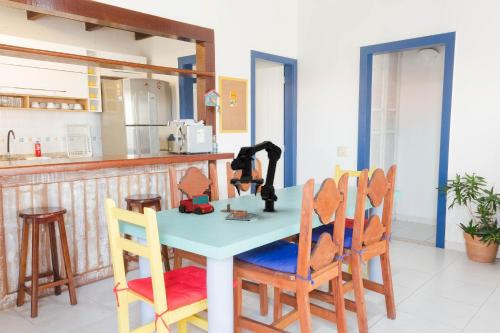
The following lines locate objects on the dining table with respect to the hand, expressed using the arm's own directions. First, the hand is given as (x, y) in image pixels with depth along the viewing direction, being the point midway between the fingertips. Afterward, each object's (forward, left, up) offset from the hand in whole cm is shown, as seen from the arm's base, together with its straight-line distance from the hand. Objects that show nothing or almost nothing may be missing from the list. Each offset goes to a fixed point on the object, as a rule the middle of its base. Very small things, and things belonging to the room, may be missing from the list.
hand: (247, 196), depth 223 cm
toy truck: (-2, -32, -12) cm, 34 cm away
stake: (-6, -13, -11) cm, 18 cm away
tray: (+6, -3, -11) cm, 13 cm away
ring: (+6, -3, -11) cm, 13 cm away
